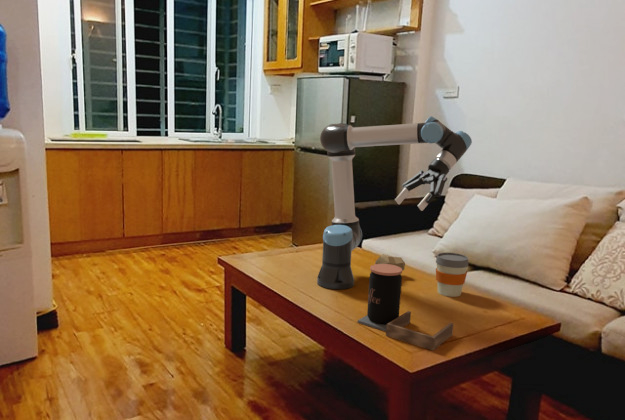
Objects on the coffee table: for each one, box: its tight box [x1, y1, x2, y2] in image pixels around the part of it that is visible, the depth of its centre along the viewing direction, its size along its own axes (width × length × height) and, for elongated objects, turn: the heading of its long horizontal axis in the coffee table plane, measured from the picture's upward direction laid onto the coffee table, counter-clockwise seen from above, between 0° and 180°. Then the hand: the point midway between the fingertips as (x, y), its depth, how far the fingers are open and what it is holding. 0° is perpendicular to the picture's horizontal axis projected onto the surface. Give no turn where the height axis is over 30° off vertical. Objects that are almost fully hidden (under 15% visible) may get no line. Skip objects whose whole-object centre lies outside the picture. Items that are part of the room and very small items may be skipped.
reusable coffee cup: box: [435, 252, 469, 298], centre depth 211 cm, size 13×13×15 cm
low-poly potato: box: [374, 254, 406, 272], centre depth 229 cm, size 15×11×12 cm
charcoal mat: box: [356, 315, 387, 332], centre depth 180 cm, size 12×13×1 cm
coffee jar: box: [366, 263, 403, 325], centre depth 178 cm, size 11×11×18 cm
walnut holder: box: [385, 310, 454, 351], centre depth 170 cm, size 16×15×4 cm
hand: (408, 205), depth 200 cm, fingers open, 13 cm apart
